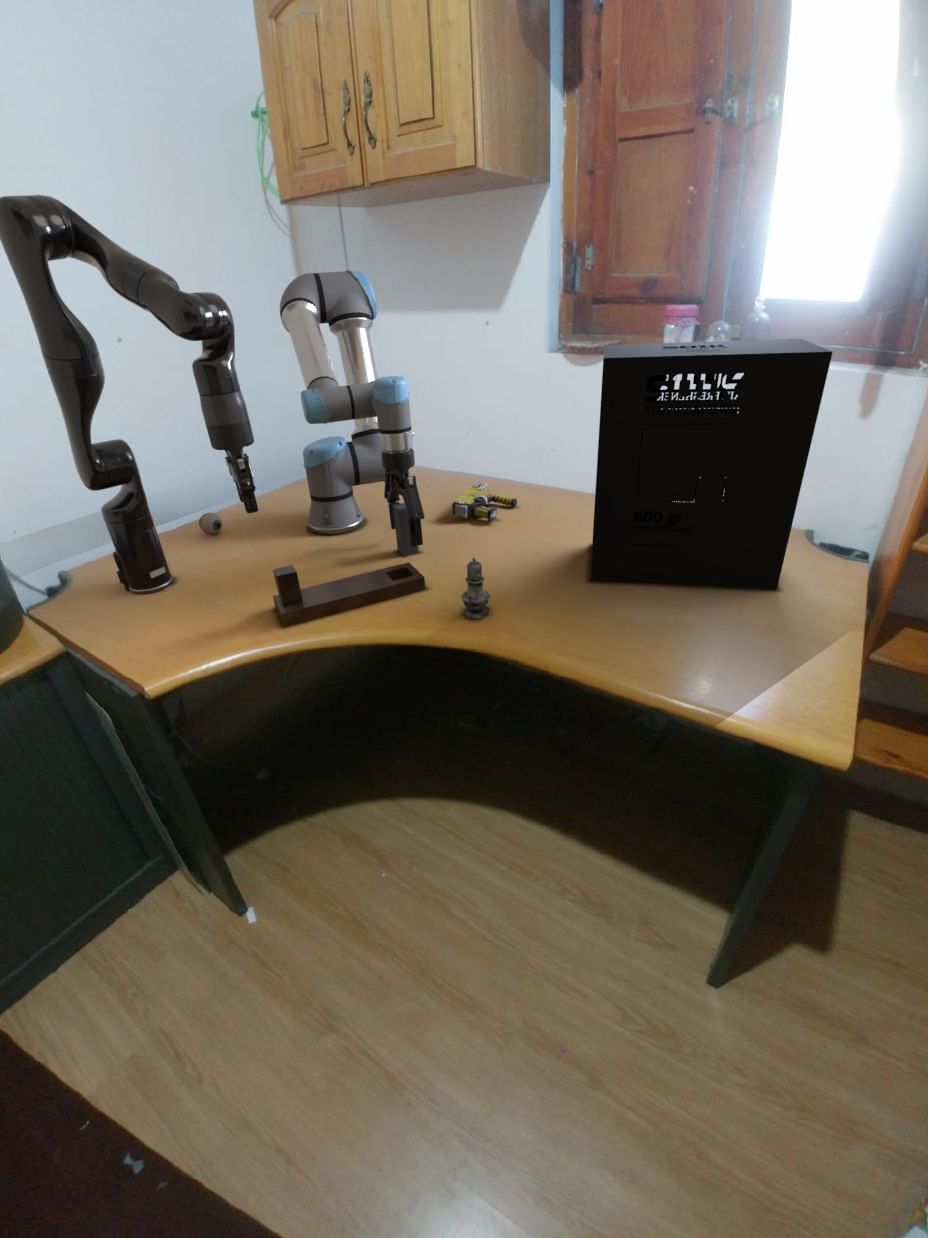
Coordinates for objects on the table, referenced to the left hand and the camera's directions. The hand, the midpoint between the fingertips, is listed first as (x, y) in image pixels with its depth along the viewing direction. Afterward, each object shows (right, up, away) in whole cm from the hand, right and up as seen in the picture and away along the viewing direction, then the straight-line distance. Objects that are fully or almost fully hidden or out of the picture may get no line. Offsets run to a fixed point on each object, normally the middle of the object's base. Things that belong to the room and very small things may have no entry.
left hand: (249, 506), depth 115 cm
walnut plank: (+16, -17, +15) cm, 28 cm away
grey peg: (+27, -5, +35) cm, 45 cm away
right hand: (+27, -1, +33) cm, 43 cm away
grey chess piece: (+44, -20, +7) cm, 49 cm away
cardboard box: (+89, -9, +21) cm, 92 cm away
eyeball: (-29, +2, +53) cm, 60 cm away
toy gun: (+49, +10, +59) cm, 77 cm away
